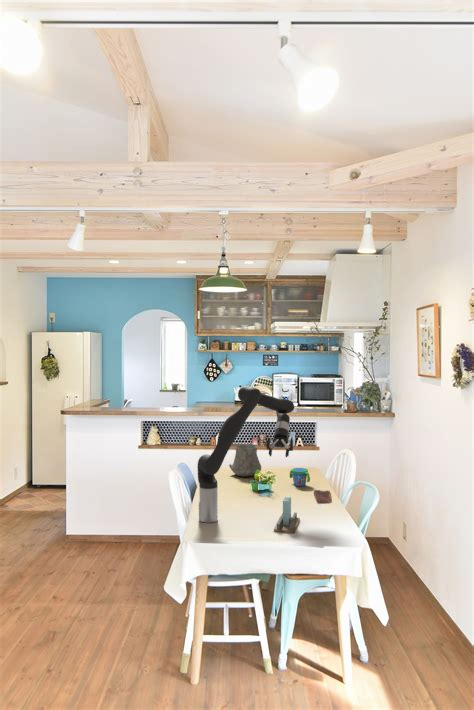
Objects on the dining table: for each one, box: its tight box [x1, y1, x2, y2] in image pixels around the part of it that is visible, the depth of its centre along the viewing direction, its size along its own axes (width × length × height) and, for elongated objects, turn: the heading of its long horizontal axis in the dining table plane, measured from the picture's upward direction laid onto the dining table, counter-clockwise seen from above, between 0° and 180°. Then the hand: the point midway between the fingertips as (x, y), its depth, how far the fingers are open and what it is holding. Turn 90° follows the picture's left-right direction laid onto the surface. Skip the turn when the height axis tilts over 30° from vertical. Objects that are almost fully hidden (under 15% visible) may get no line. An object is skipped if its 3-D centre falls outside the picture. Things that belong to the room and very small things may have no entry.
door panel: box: [282, 496, 292, 526], centre depth 269 cm, size 3×7×12 cm, turn 166°
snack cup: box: [289, 467, 311, 487], centre depth 344 cm, size 16×10×10 cm
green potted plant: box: [249, 470, 263, 492], centre depth 335 cm, size 11×9×11 cm
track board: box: [273, 512, 301, 534], centre depth 269 cm, size 10×20×4 cm, turn 166°
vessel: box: [228, 444, 262, 478], centre depth 371 cm, size 22×22×20 cm
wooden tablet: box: [313, 489, 333, 505], centre depth 318 cm, size 26×2×10 cm
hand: (278, 456), depth 287 cm, fingers open, 8 cm apart
